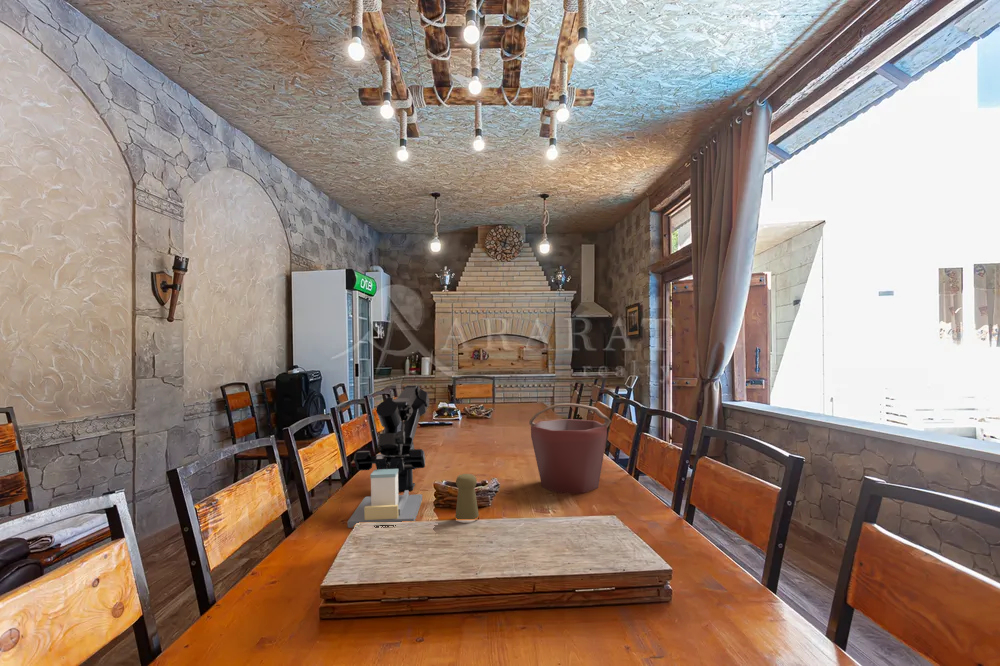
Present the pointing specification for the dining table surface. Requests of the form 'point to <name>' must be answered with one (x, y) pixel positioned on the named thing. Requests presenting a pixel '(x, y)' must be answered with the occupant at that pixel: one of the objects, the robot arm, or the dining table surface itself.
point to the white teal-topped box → (384, 487)
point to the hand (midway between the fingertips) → (386, 487)
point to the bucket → (569, 451)
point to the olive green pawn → (466, 497)
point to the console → (387, 510)
